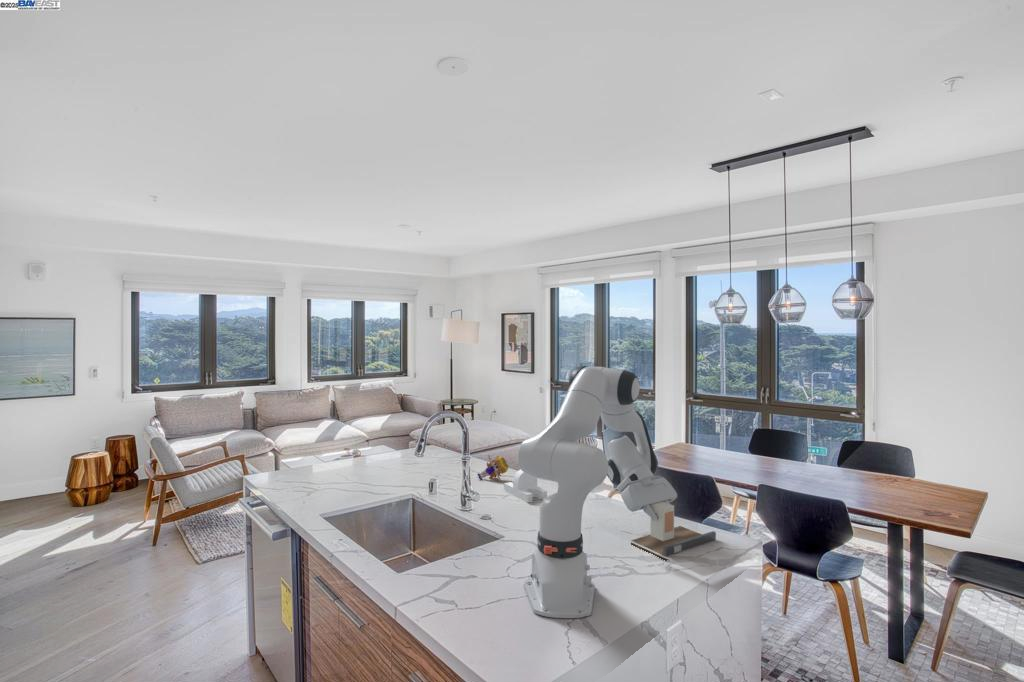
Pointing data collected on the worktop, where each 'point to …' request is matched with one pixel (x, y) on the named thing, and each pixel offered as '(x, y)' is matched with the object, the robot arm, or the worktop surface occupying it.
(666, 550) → the price rail
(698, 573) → the worktop surface
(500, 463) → the toy
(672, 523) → the carton
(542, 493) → the tape dispenser
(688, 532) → the spiral bound notebook
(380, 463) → the worktop surface
